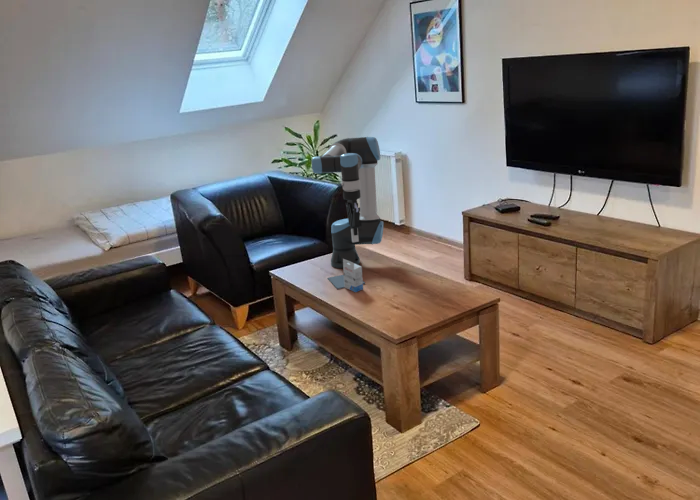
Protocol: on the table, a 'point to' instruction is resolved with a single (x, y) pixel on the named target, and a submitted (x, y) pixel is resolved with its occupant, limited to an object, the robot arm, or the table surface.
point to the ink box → (352, 276)
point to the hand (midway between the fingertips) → (355, 241)
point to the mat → (338, 281)
